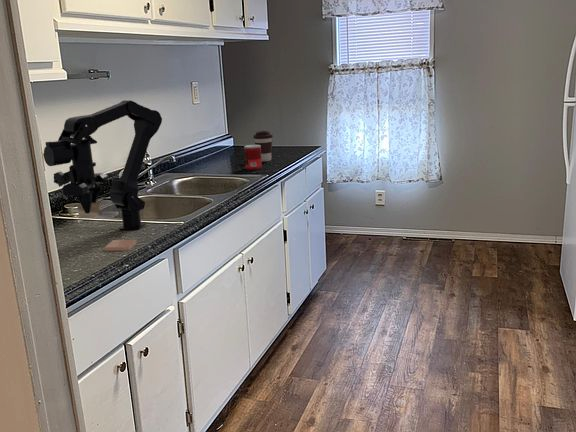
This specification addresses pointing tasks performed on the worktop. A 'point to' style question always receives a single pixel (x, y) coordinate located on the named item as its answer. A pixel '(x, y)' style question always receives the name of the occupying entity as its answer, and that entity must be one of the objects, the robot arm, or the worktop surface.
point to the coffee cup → (264, 144)
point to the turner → (95, 212)
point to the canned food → (253, 157)
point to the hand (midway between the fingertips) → (89, 211)
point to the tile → (120, 245)
